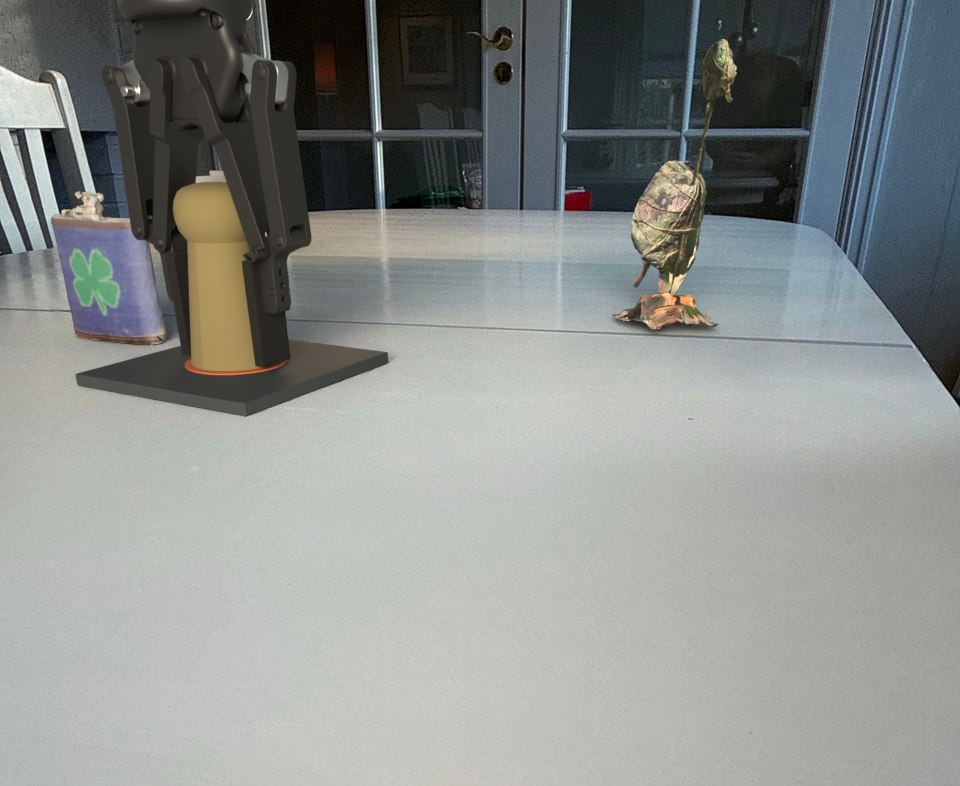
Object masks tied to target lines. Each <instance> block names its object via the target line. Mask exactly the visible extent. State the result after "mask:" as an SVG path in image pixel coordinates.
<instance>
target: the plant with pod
mask: <svg viewBox="0 0 960 786" xmlns="http://www.w3.org/2000/svg"><path fill="white" fill-rule="evenodd" d="M733 56H734V55H733V51H732V50H731V48H730V46H729V43H728V40H726V39H725V38H722V39H719V40H718V41H716V42H715V43H713V44H712V45H711V46H710V47H709V48H708V50H707V52H706V55H705V57H704V59H703V60H702V65H701V66H702V67H703V68H702V92H703V96H704V98H705V100H706V101H708V103H707V104H706V109H705V114H704V115H705V116H704V117H705V120H704V127H703V132H702V136H701V139H700V143H699V146H698V150H697V155H696V161H695V165H694V170H693V169H692V168H691V167H690V166H689V165H686V163H690V162H691V160H684V161H682V160H668V161H667V162H665V163H664V164H663V165H662V166H661V167H660V169H658V172H656V173H655V174H654V176H653V177H652V178H651V179H650V181H649V183H648V185H647V186H646V188H645V189H644V191H643V193H642V195H641V196H640V197H639V198H638V200H637V203H636V206H635V207H634V211H633V215H632V217H631V220H630V239H631V241H632V244H633V247H634V250H636V251H637V253H638V254H640V255H641V257H640V259H641V260H642V261H643V262H642V270H641V272H640V274H638V275H637V277H636V278H635V279H634V280H633V284H632V287H633V288H638V287H639V286H640V284H641V283H642V281H643V280H644V278H645V277H646V276H647V273H648V271H649V269H650V267H654V268H655V269H657V270H658V273H659V274H658V283H657V284H658V286H657V291H658V293H647V294H643V295H641V296H640V297H639V299H638V301H637V303H636V305H635V306H634V307H632V308H626V309H623V311H622V312H621V313H617V314H615V313H612V316H611V317H615V319H616V320H620V321H621V320H622V321H623V322H625V321H627V322H630V321H633V320H634V321H636V322H642V323H644V324H646V325H647V326H648V327H649V329H651V330H659V329H663V327H668V326H670V325H672V324H675V323H678V322H679V323H681V324H684V323H685V324H686V325H690V324H691V325H693V326H697V325H698V326H701V325H703V326H706V327H708V328H715V327H716V328H717V326H719V325H720V323H716V322H715V323H713V322H714V320H712V318H711V316H709V315H707V313H705V314H704V313H703V312H701V311H699V309H698V307H697V299H696V297H695V296H693V295H691V294H681V293H678V291H679V288H680V287H681V285H682V283H683V282H684V280H685V278H686V277H687V275H688V273H689V271H690V270H691V268H692V266H693V265H694V263H695V260H696V253H697V250H698V249H699V248H700V235H701V234H700V233H701V226H702V223H703V219H704V213H705V207H706V202H705V201H706V196H707V194H708V192H707V182H706V181H705V180H704V177H703V175H702V174H701V173H699V171H700V170H699V169H700V163H701V159H702V155H703V148H704V146H705V140H706V139H705V138H706V137H707V133H708V130H709V126H710V122H711V118H712V115H713V112H714V107H715V101H716V100H718V99H719V98H721V97H723V96H724V97H725V99H726V101H727V102H728V103H731V102H732V101H733V97H732V94H731V87H732V86H733V84H734V81H735V78H736V76H737V69H738V67H737V65H736V64H735V62H734V60H733Z"/></svg>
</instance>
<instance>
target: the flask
mask: <svg viewBox="0 0 960 786" xmlns="http://www.w3.org/2000/svg"><path fill="white" fill-rule="evenodd" d="M74 196H75V197H76V198H77V200H80V199H81V201H82V202H83V204H80V205H76V207H73V208H71V209H69V208H68V209H62V210H61V212H60V213H53V214H52V216H51V218H50V223H51V228H52V231H53V235H54V239H55V243H56V248H57V252H58V257H59V262H60V268H61V271H62V275H63V281H64V286H65V292H66V297H67V302H68V305H69V310H70V313H71V319H72V323H73V330H74V335H75V337H77V338H82V339H87V340H92V341H102V342H103V341H108V342H111V343H120V344H131V345H142V344H145V345H150V346H153V345H159V344H161V343H162V342H164V341H165V342H167V340H168V339H167V338H168V335H167V330H166V324H165V320H164V316H163V311H162V304H161V301H160V297H159V290H158V284H157V278H156V275H155V269H154V263H153V256H152V252H151V244H150V243H149V242H147V241H146V240H137V239H136V238H135V237H134V236H133V234H132V230H131V224H130V217H127V218H126V217H125V218H124V217H109V216H103V212H104V206H103V204H101V203H102V202H103V201H104V200H105V196H104V194H103V193H100V192H96V193H93V192H91V191H90V192H89V191H83V192H81V191H80V190H78V191H75V193H74ZM160 339H161V340H160Z"/></svg>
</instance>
